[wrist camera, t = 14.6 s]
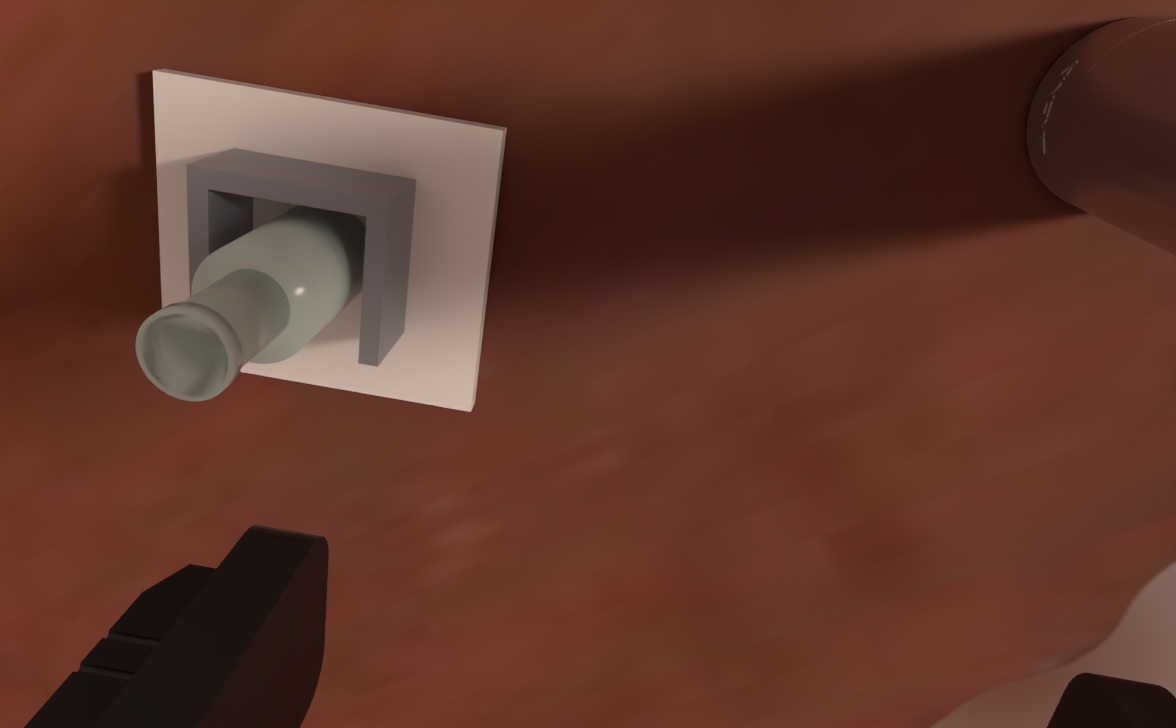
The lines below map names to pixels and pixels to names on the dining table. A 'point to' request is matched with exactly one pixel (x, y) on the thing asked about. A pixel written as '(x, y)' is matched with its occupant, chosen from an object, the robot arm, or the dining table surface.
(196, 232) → the u rest
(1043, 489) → the dining table surface
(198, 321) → the bottle
